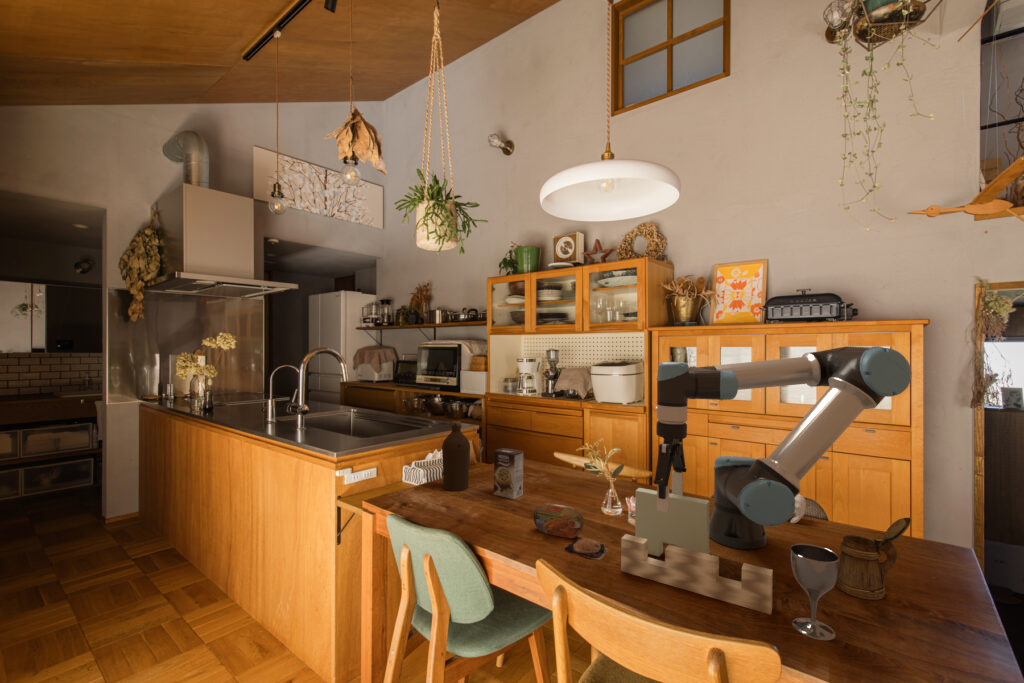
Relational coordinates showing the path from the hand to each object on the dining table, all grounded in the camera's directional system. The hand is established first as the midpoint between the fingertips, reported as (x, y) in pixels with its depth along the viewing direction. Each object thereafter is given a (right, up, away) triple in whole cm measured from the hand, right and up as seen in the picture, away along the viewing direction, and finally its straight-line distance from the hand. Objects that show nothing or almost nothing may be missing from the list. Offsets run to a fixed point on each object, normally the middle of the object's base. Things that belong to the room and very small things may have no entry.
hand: (670, 503), depth 121 cm
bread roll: (-21, -15, +4) cm, 26 cm away
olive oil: (-62, -14, +56) cm, 85 cm away
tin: (-28, -14, +14) cm, 34 cm away
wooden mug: (+40, -15, -16) cm, 45 cm away
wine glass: (+18, -14, -30) cm, 38 cm away
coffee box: (-42, -14, +48) cm, 65 cm away
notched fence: (0, -14, -15) cm, 21 cm away
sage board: (0, -14, 0) cm, 14 cm away
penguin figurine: (+45, -14, +27) cm, 55 cm away
